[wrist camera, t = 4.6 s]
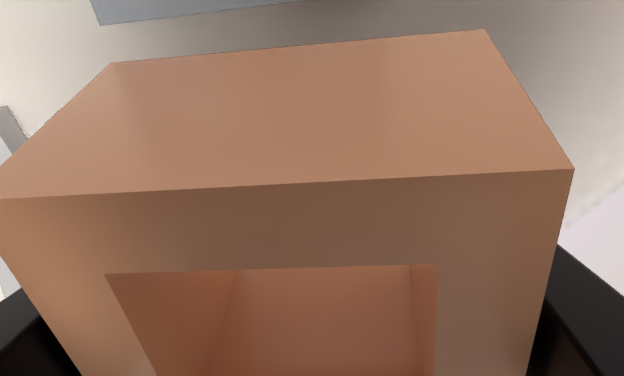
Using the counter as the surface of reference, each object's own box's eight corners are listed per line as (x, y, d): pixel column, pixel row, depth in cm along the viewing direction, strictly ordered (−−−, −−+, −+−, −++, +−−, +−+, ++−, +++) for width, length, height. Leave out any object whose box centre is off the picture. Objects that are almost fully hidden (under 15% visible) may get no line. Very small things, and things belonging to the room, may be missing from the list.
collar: (460, 297, 11) (500, 479, 8) (201, 302, 12) (146, 469, 9) (484, 29, 8) (574, 168, 5) (110, 62, 9) (-38, 200, 5)
